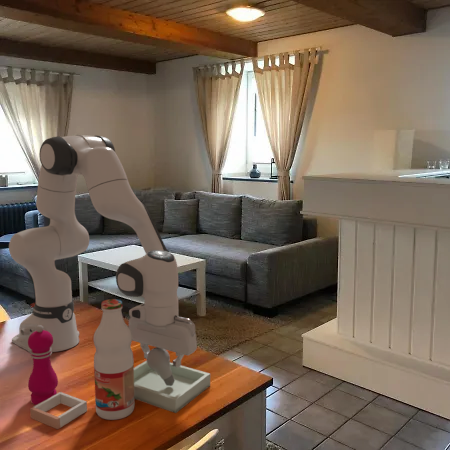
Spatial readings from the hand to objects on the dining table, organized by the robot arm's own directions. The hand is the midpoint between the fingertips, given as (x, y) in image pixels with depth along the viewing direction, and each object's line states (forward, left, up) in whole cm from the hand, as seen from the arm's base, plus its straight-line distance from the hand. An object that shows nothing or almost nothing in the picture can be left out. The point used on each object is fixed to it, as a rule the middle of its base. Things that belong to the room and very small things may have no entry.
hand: (162, 362), depth 132 cm
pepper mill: (-23, -20, -8) cm, 31 cm away
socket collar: (-14, -23, -8) cm, 28 cm away
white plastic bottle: (-3, -15, -8) cm, 17 cm away
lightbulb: (+3, +1, -6) cm, 7 cm away
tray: (0, 0, -8) cm, 8 cm away
